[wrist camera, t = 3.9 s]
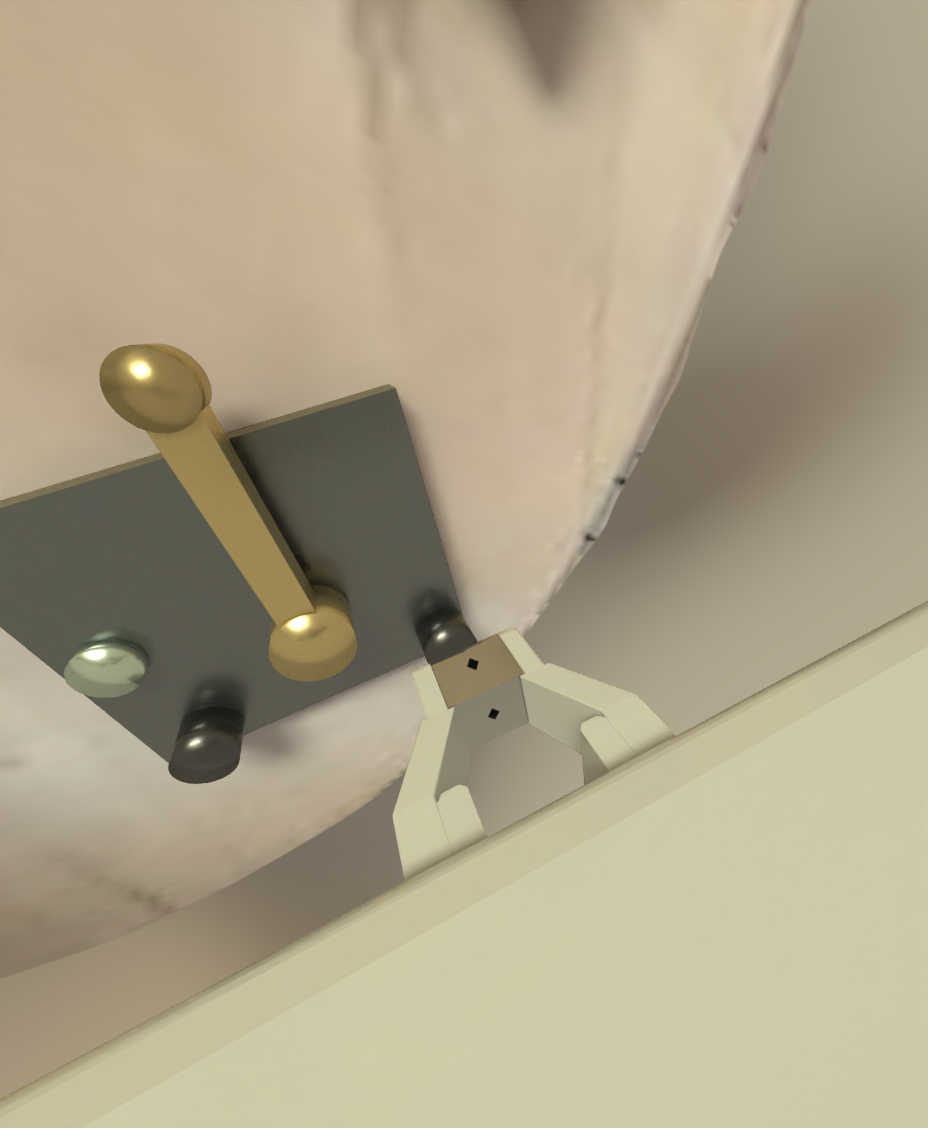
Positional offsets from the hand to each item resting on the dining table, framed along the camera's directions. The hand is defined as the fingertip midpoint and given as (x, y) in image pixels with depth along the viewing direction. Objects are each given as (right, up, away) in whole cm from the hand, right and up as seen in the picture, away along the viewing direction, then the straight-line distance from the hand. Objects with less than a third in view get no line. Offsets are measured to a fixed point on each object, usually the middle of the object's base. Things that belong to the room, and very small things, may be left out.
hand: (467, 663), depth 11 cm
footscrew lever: (-12, +5, +12) cm, 18 cm away
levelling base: (-13, +1, +16) cm, 21 cm away
